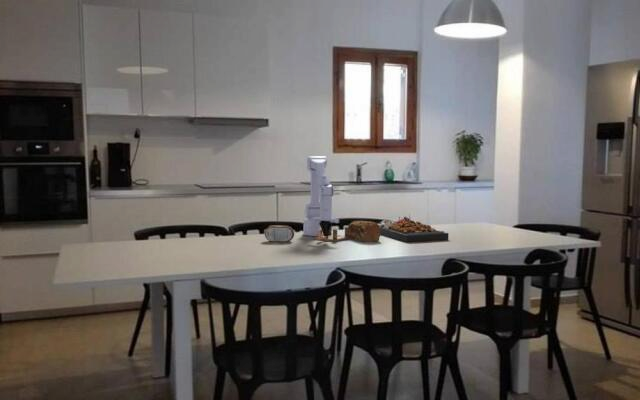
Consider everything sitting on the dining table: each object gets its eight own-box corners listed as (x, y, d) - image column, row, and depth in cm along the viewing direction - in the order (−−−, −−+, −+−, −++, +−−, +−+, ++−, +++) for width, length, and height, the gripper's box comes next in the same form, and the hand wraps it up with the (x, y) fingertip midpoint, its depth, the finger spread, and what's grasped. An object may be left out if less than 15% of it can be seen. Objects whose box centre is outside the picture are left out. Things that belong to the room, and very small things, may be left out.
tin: (294, 241, 283) (294, 225, 282) (293, 242, 279) (293, 226, 279) (265, 241, 284) (265, 224, 283) (264, 242, 281) (264, 225, 280)
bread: (380, 241, 284) (380, 222, 283) (362, 242, 280) (362, 223, 279) (364, 236, 301) (364, 218, 300) (346, 237, 297) (347, 219, 296)
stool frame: (313, 239, 289) (313, 227, 288) (328, 236, 300) (328, 225, 300) (335, 242, 281) (335, 230, 280) (350, 238, 292) (350, 227, 292)
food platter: (368, 232, 321) (368, 214, 320) (405, 230, 330) (405, 213, 329) (406, 244, 279) (407, 223, 278) (448, 241, 288) (448, 221, 287)
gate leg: (323, 237, 285) (324, 228, 285) (327, 238, 284) (327, 228, 284) (317, 239, 281) (317, 229, 280) (320, 239, 279) (320, 229, 279)
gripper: (309, 209, 278) (309, 235, 280) (333, 210, 270) (333, 238, 271) (317, 207, 284) (317, 234, 285) (341, 209, 276) (341, 236, 277)
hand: (325, 236), depth 279 cm, fingers closed
